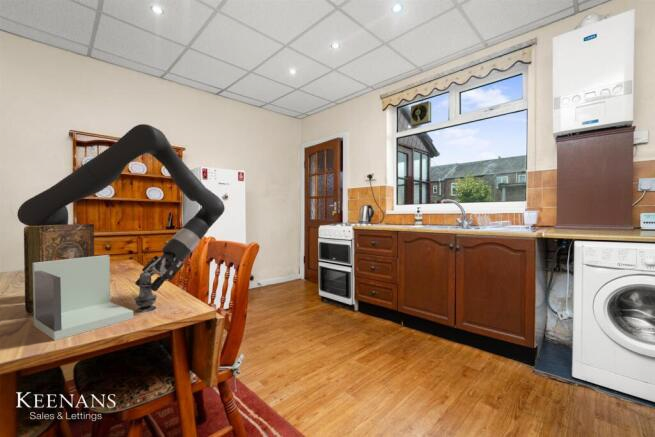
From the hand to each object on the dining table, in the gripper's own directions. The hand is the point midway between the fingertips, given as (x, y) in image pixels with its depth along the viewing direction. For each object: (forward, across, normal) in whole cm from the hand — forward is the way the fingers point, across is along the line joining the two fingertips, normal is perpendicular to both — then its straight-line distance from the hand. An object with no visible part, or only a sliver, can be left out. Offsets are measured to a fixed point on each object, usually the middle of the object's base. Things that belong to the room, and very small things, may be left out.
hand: (144, 287), depth 85 cm
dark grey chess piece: (+5, 0, +5) cm, 7 cm away
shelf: (+14, -3, -5) cm, 15 cm away
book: (+13, -24, -4) cm, 28 cm away
